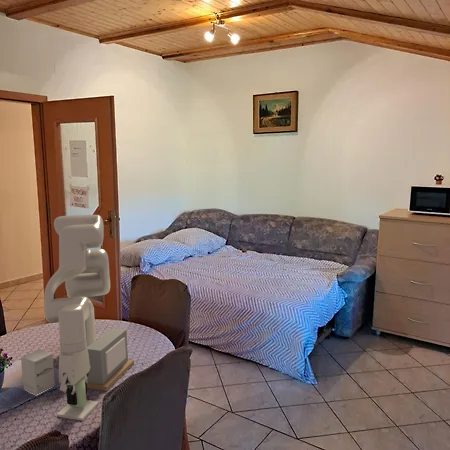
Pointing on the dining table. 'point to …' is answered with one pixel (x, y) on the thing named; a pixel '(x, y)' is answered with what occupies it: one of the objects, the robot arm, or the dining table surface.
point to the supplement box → (37, 371)
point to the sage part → (80, 393)
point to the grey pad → (78, 411)
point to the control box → (108, 359)
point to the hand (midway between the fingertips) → (77, 398)
